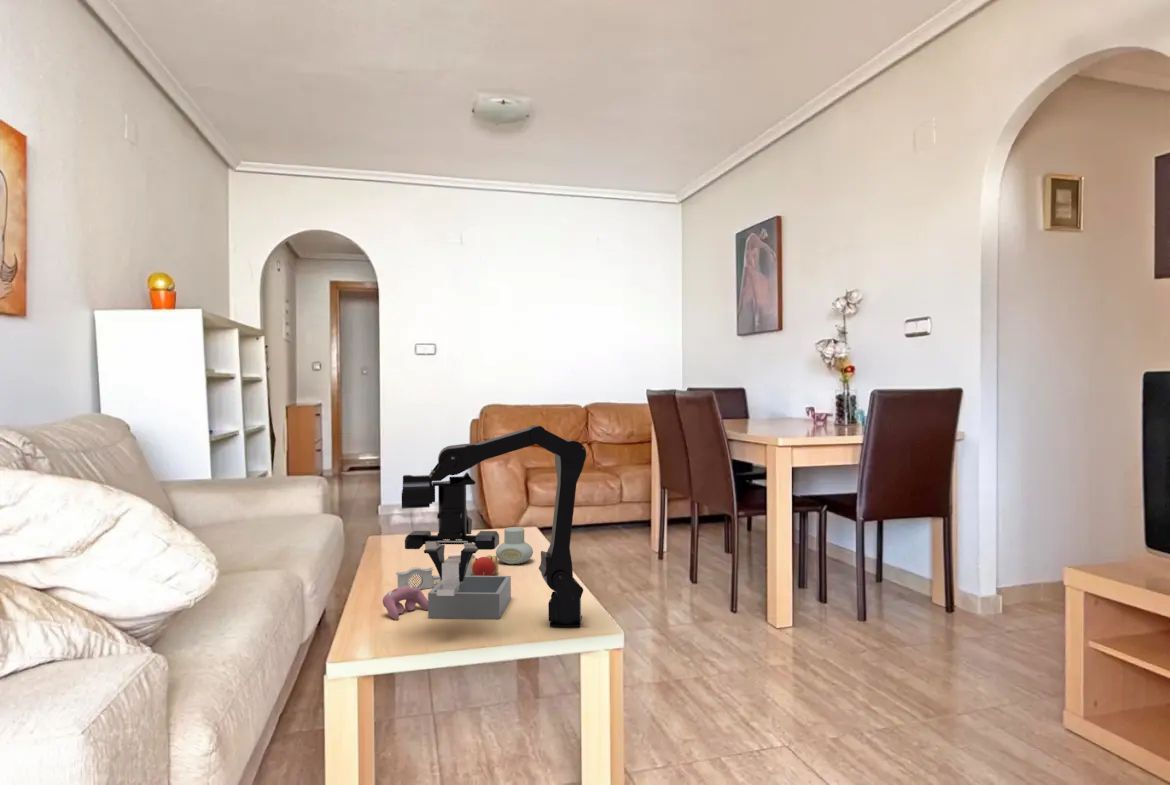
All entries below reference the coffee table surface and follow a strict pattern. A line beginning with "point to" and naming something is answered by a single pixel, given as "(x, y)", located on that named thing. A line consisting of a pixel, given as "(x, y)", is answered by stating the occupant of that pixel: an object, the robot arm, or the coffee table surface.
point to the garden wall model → (424, 575)
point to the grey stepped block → (450, 578)
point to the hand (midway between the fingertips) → (452, 581)
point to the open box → (472, 599)
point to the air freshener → (514, 547)
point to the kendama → (484, 566)
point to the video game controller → (404, 593)
